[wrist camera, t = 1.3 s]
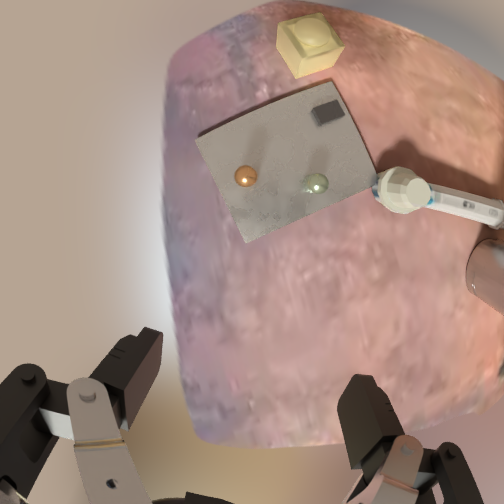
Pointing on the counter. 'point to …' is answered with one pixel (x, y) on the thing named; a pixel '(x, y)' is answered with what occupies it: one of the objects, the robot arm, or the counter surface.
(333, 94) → the plate
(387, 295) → the counter surface
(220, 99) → the counter surface
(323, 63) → the cube with dome bump
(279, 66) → the counter surface
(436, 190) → the white handheld device
